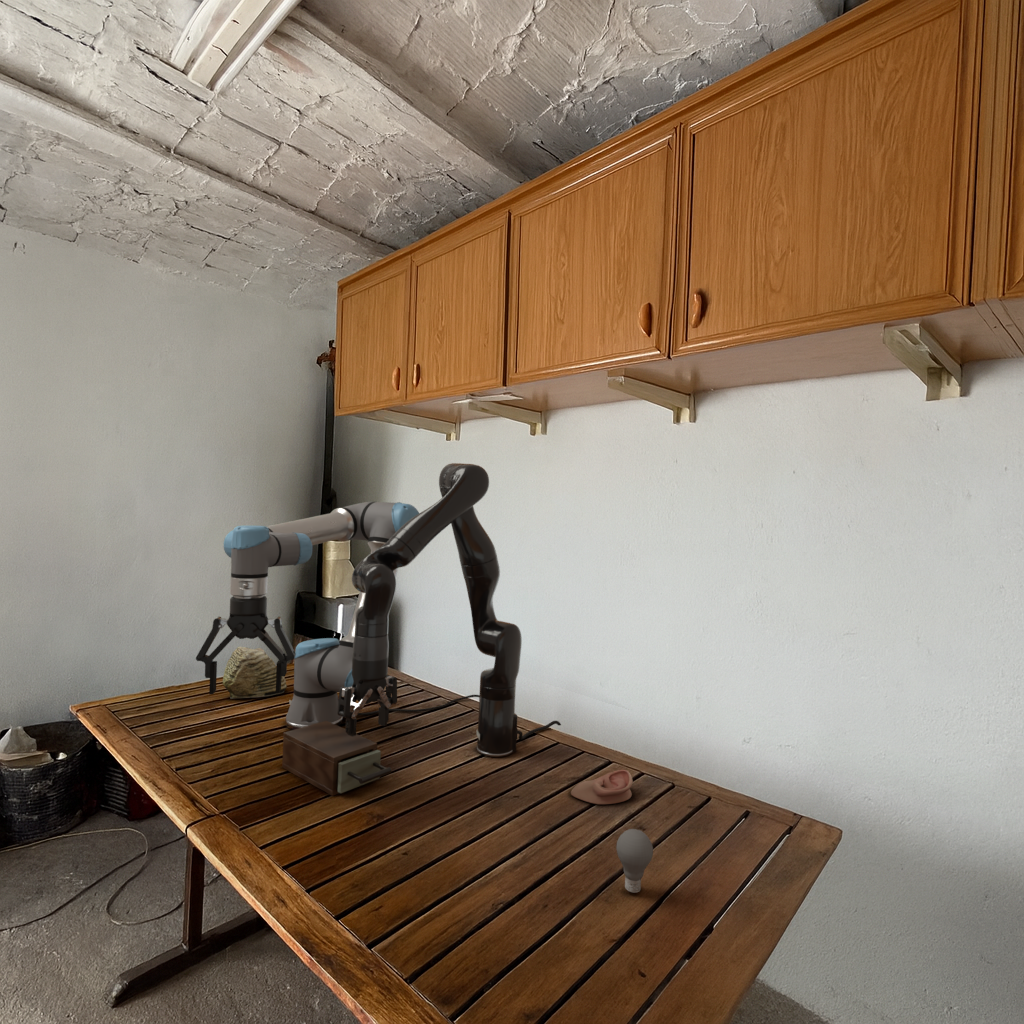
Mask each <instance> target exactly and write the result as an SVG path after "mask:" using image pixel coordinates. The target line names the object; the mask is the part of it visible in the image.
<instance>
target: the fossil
mask: <svg viewBox="0 0 1024 1024" xmlns="http://www.w3.org/2000/svg"><path fill="white" fill-rule="evenodd" d="M276 667H277V664H276V663H275V662H274V660H273V659H272V658H271V657H270V656H269V655H268V654H267V653H266V652H265V650H264V649H263V648H260V647H258V648H251V647H247V646H246V647H245V646H238V647H237V648H236V649H235V650H233V651H232V653H231V656H230V657H229V659H228V660H227V663H226V666H225V668H224V671H223V675H222V676H223V677H222V685H223V687H224V688H225V690H226V691H228V693H229V698H230V699H250V698H264V697H271V696H275V695H281V694H284V693H285V691H286V689H287V687H288V686H287V680H286V678H285V677H286V676H285V677H281V690H280V692H279V693H276Z"/></svg>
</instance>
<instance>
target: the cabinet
mask: <svg viewBox="0 0 1024 1024" xmlns="http://www.w3.org/2000/svg"><path fill="white" fill-rule="evenodd" d="M282 737H283V739H282V745H283V746H282V765H281V766H282V767H281V768H282V769H284V770H286V771H287V772H289V773H291V774H293V775H295V776H296V777H298V778H300V779H301V780H303V781H305V782H307V783H309V784H311V785H312V786H314V787H316V788H317V789H319V790H320V791H322V792H325V793H327V794H328V795H330V796H332V797H333V796H336V795H339V794H340V793H339V792H338V786H337V765H338V761H339V760H342V759H345V758H348V757H351V756H354V755H357V754H360V753H363V752H366V751H369V750H370V752H372V751H375V750H378V743H377V742H375V741H373V740H371V739H369V738H367V737H364V736H362V735H359V734H357V733H356V735H355V736H350V735H348V734H347V733H346V731H345V728H344V727H341V726H340V725H339V726H337V725H335V724H332V723H330V722H328V721H324V722H320V723H317V724H313V725H309V726H306V727H302V728H299V729H295V730H292V729H290V730H288V731H285V732H283V736H282Z"/></svg>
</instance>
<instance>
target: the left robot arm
mask: <svg viewBox="0 0 1024 1024" xmlns="http://www.w3.org/2000/svg"><path fill="white" fill-rule="evenodd" d="M419 513H420V512H419V510H418V509H417V508H416V507H415V506H414V505H412V504H410V503H403V502H400V501H399V502H390V501H389V502H387V501H364V502H359V503H358V502H357V503H354V504H350V505H346V506H342V507H337V508H334V509H333V510H332V511H331V512H330V513H325V514H320V515H315V516H310V517H306V518H300V519H296V520H291V521H286V522H281V523H277V524H271V525H237V526H235V527H234V528H233V530H230V531H229V532H228V533H227V534H226V535H225V537H224V540H223V550H224V553H225V554H226V556H228V558H230V587H229V589H230V592H229V594H230V595H231V597H230V599H229V616H228V618H223V617H221V616H217V617H215V618H214V619H213V622H212V627H211V630H210V632H209V634H208V635H207V638H206V639H205V641H204V643H203V645H202V646H201V648H200V649H199V651H198V653H197V655H196V657H195V660H196V661H197V662H202V663H203V664H204V677H205V679H209V688H208V689H209V690H208V692H209V693H208V695H214V694H215V693H216V691H217V674H218V660H214V659H216V657H218V655H220V653H221V652H222V651H223V650H224V649H225V648H226V647H227V646H228V644H230V642H231V641H232V640H233V639H234V638H235V637H236V638H238V639H239V640H244V639H250V640H254V639H257V638H258V639H259V640H260V641H261V642H262V643H263V644H264V645H265V646H266V647H267V648H268V649H269V650H270V652H271V653H272V654H273V655H274V656H275V657H276V658H277V660H278V661H277V662H276V693H279V692H280V690H281V677H286V675H287V673H288V662H289V661H293V662H294V663H293V665H294V666H293V695H292V696H293V697H292V699H289V700H288V704H289V708H288V711H287V713H286V715H285V726H286V728H287V729H289V730H295V729H299V728H302V727H306V726H309V725H313V724H317V723H320V722H324V721H328V722H330V723H332V724H335V725H337V726H339V727H340V725H342V723H343V722H344V717H342V716H339V715H338V703H339V694H338V693H339V692H340V688H341V687H342V686H343V687H346V688H347V687H352V685H353V677H352V657H353V642H354V636H355V617H356V612H357V610H358V608H360V607H362V606H363V605H364V600H365V593H362V592H360V591H359V593H358V597H357V601H356V604H355V608H354V612H353V614H352V619H351V622H350V626H349V629H348V633H347V634H346V635H345V636H344V637H342V638H340V640H339V639H338V638H335V637H326V638H325V637H324V638H323V637H322V638H313V639H308V640H304V641H302V642H299V643H298V644H297V645H296V647H295V649H294V647H293V645H292V643H291V641H290V639H289V637H288V635H287V633H286V631H285V629H284V627H283V620H282V617H281V616H276V617H273V618H268V614H267V613H268V611H267V610H268V598H267V596H265V595H267V594H268V583H269V582H268V580H269V568H272V567H284V566H297V565H301V564H303V565H304V564H305V563H307V562H309V560H310V559H311V557H312V556H313V546H316V545H319V544H324V543H327V542H332V541H335V540H337V541H339V542H346V541H351V540H356V541H366V542H367V545H368V548H369V549H370V553H369V554H371V553H372V552H374V551H375V550H376V549H378V548H379V547H381V546H382V545H384V544H385V543H386V542H387V541H388V540H389V539H390V538H391V537H392V536H393V535H394V534H395V533H396V532H397V531H398V530H399V529H400V528H401V527H402V526H403V525H404V524H405V523H406V522H407V521H409V520H410V519H411V518H413V517H414V516H416V515H418V514H419ZM398 571H399V568H397V569H395V570H394V573H395V577H396V578H397V575H398ZM225 625H226V626H227V627H228V628H229V630H230V632H229V633H228V635H227V636H226V637H225V638H224V639H223V640H222V641H221V642H220V643H219V644H218V645H217V646H216V648H215V649H214V650H213V651H212V652H211V653H210V654H209V655H208V654H207V653H208V651H209V649H210V648H211V646H212V644H213V642H214V640H215V639H216V637H217V635H218V634H219V632H220V630H221V629H223V628H224V627H225ZM269 625H270V626H271V628H272V629H274V630H275V631H274V632H275V633H276V635H277V637H278V639H279V641H280V643H281V645H282V647H283V649H284V650H282V649H281V647H280V646H279V644H277V643H276V641H275V640H274V639H273V638H272V636H271V635H269V633H268V631H267V630H266V627H268V626H269ZM284 651H285V652H284ZM352 695H353V694H352ZM479 696H480V694H470V695H466V696H462V697H459V698H458V697H457V698H454V699H452V700H450V701H448V702H446V703H444V704H440V705H437V706H433V707H432V706H431V707H426V708H419V709H416V708H415V709H407V708H389V712H400V713H401V712H402V713H420V712H427V711H428V712H429V711H433V710H438V709H441V708H444V707H445V708H446V707H447V706H450V705H451V704H453V703H455V702H459V701H463V700H467V699H471V698H479ZM374 714H375V715H376V714H379V709H378V710H373V711H369V712H359V713H358V715H357V716H371V715H374Z"/></svg>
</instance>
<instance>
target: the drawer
mask: <svg viewBox="0 0 1024 1024" xmlns="http://www.w3.org/2000/svg"><path fill="white" fill-rule="evenodd" d="M381 754H382V751H381V750H380V749H377V750H375V751H372V752H370V750H369V751H366V752H363V753H360V754H357V755H354V756H351V757H348V758H345V759H342V760H339V761H338V765H337V786H338V792H339V793H338V794H344V793H346V792H349V791H351V790H353V789H356V788H358V787H362V786H364V785H367V784H369V783H372V782H374V781H376V780H379V779H381V777H383V776H386V775H388V774H391V773H392V768H391V767H390V766H387V767H386V766H384V765H383V764H381V756H382V755H381Z"/></svg>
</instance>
